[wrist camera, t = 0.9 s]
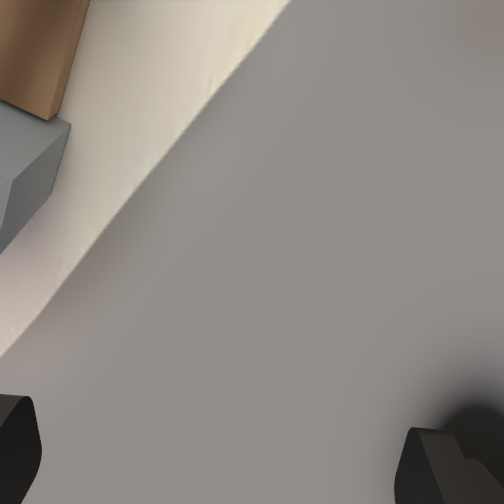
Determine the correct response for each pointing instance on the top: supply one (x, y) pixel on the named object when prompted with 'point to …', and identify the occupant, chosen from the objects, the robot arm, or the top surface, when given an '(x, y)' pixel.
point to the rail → (38, 51)
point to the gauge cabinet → (26, 165)
